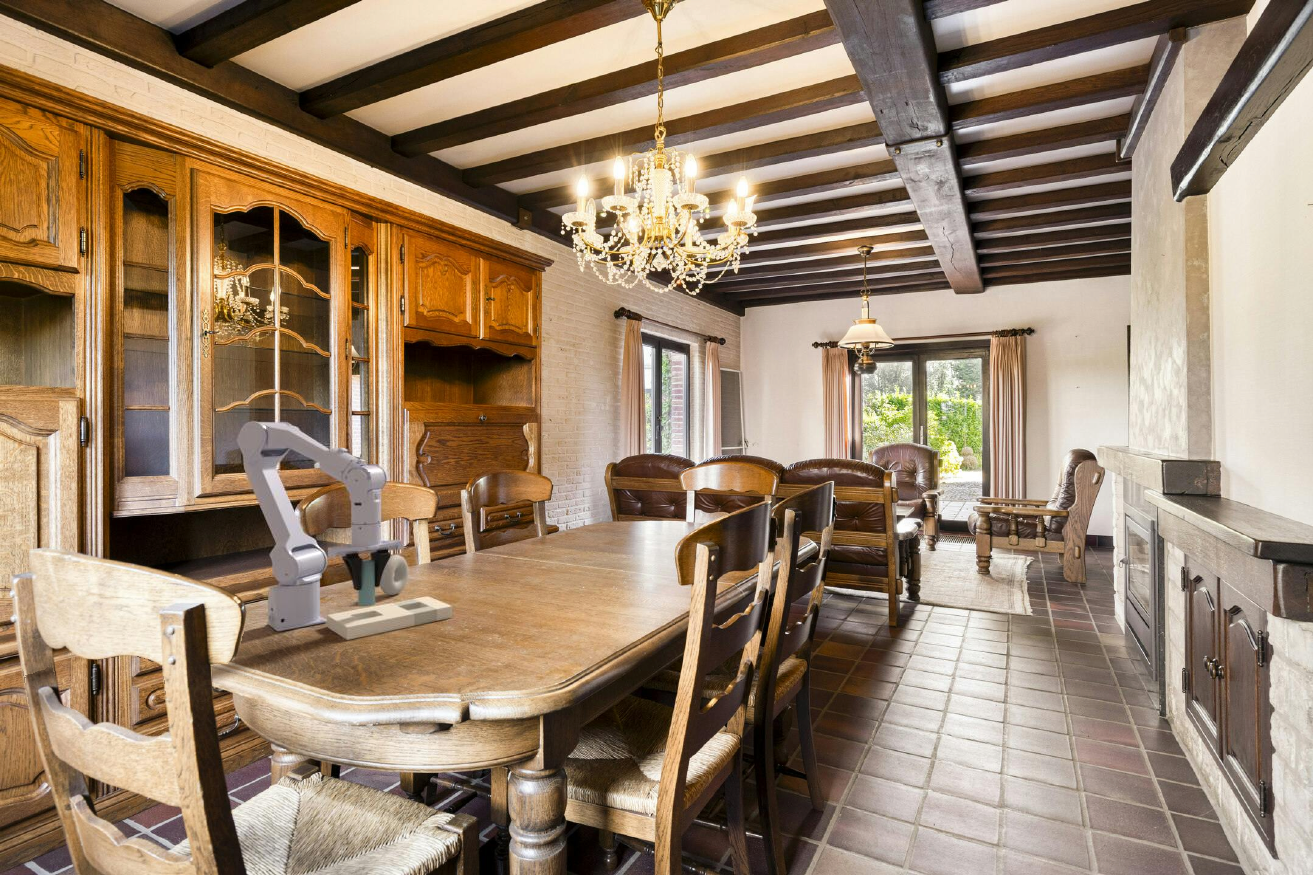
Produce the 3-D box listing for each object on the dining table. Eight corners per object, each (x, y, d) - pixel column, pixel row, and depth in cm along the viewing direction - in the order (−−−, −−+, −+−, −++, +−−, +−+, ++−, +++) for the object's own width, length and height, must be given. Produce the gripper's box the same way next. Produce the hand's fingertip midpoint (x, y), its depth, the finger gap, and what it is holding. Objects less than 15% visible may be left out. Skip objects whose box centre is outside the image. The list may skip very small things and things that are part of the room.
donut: (388, 600, 158) (388, 559, 158) (375, 599, 159) (375, 558, 159) (411, 590, 168) (411, 551, 168) (399, 589, 169) (398, 551, 169)
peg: (361, 607, 134) (361, 563, 134) (356, 604, 137) (355, 561, 136) (377, 604, 137) (377, 561, 136) (371, 601, 139) (371, 559, 139)
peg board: (347, 639, 128) (347, 627, 128) (327, 626, 137) (326, 614, 137) (452, 617, 143) (452, 606, 143) (428, 606, 152) (427, 596, 152)
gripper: (336, 528, 128) (336, 597, 129) (408, 521, 139) (408, 585, 139) (324, 524, 134) (324, 591, 134) (395, 518, 144) (395, 579, 144)
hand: (366, 587), depth 137 cm, fingers closed on peg, 3 cm apart
